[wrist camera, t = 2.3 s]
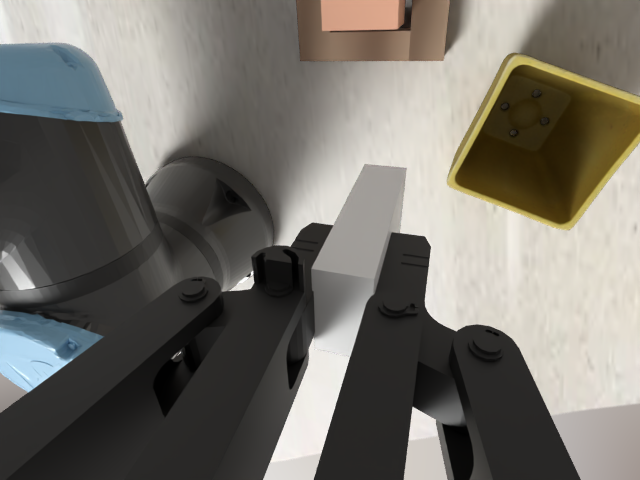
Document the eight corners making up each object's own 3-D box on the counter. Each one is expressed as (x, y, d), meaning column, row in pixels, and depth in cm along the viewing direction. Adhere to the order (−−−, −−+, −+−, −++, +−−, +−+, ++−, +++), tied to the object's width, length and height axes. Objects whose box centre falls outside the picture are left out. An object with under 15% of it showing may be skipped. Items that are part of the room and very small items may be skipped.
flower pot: (500, 32, 30) (514, 51, 23) (618, 73, 29) (670, 107, 22) (446, 141, 35) (443, 186, 28) (545, 179, 34) (568, 234, 27)
